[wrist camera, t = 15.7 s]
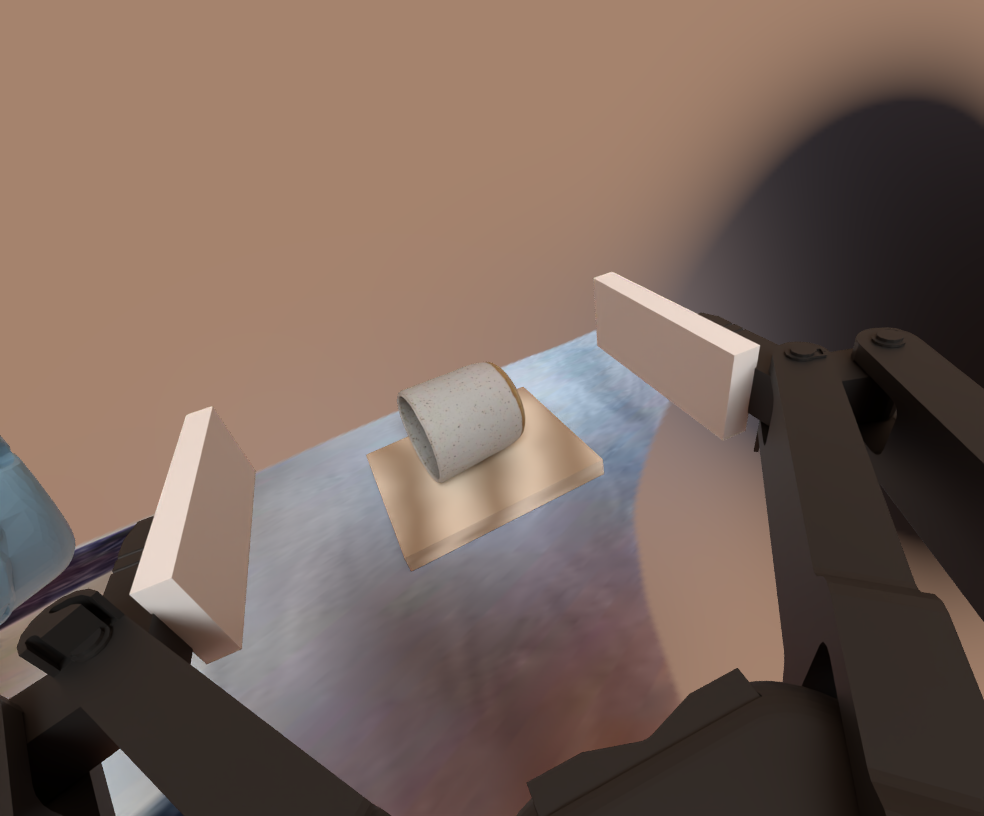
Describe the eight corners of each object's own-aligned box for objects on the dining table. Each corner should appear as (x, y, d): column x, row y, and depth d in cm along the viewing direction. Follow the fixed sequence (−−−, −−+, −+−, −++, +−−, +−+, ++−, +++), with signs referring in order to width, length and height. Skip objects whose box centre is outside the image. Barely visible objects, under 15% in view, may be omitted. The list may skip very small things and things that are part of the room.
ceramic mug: (539, 450, 38) (522, 368, 34) (450, 502, 35) (420, 420, 31) (475, 400, 46) (455, 329, 42) (399, 439, 43) (370, 367, 39)
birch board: (411, 571, 33) (404, 558, 32) (371, 467, 43) (366, 454, 42) (604, 473, 37) (602, 459, 36) (525, 399, 47) (523, 386, 46)
